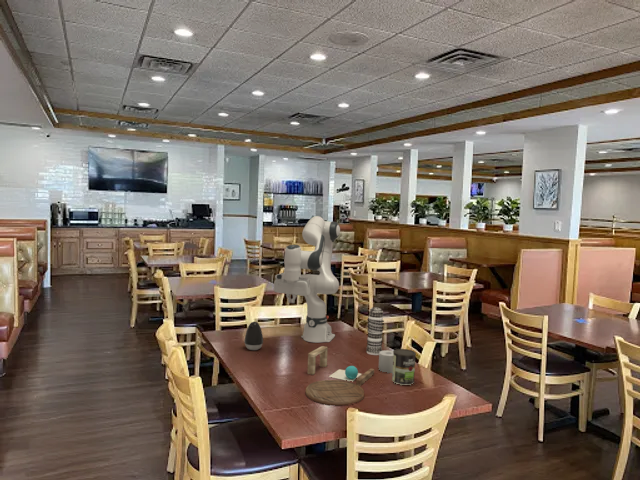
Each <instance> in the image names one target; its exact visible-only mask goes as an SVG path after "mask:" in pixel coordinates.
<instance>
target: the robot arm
mask: <svg viewBox="0 0 640 480" xmlns="http://www.w3.org/2000/svg"><path fill="white" fill-rule="evenodd" d="M302 229H303V230H302V233H301V235H302V238H303V241H304V242H305V243H306V244H307V245H310V246H314V250H312V251H311V250H301V249H302V248H301V246H300V245H298V244H288V245H287V246H286V247H285V251H284V258H283V259H284V261H283V263H284V267H283V272H281V273H278V274H275V276H274V278H275V280H274V281H273V291H274V293H279V294H286V295H285V296H286V298H287V302H288V303H290V304H295V300H296V299H297V296H302V297H304V298H305V301H306V310H307V311H306V313H307V315H306V316H305V321H306V322H305V323H304V325H303V333H302V334H301V338H302V339H303V341H305V342H309V343H329V342H330V343H331V341H332V340H333V339H334V338H335V337H336V334H335V333H332V326H331V325H330V324H329V323H328V319H329V315H327V314H326V312H327V311H326V310H327V304H326V302H325V301H324V300H322V299H321V298H320V297H319V296H318V294H321V295H333V294H334V295H335V294H336V293H337V292H338V290H339V288H340V282H339V280H338V279H337V277H336V276H335V275H334V274H333V271H332V269H331V268H332V267H331V264H332V258H333V257H332V256H333V242H335V241H336V240H337V239H338V238H339V236H340V233H341V227H340V224H339V223H338V222H336V221H330V220H329V221H327V220H325V219H324V218H322V217H321V216H320V215H315V216H312V217H311V218H310V219H309V220H308V221H307V223H306V224H305V225H304V227H303V228H302ZM302 270H309V271H310V270H311V271H317V272H319V274H311V273H310V274H309V273H307V274H301V273H302ZM291 295H292V298H291Z"/></svg>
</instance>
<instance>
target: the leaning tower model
mask: <svg viewBox="0 0 640 480" xmlns="http://www.w3.org/2000/svg"><path fill="white" fill-rule="evenodd" d="M368 312H369V313H368V318H367V319H366V321H367V323H366V324H367V325H366V327H367V330H366V331H367V339H366V344H367V345H366V353H367V354H368V355H372V356H379V352H380V351H383V332H384V327H383V326H384V325H385V324H384V322H385V321H384V315H383V314H384V310H383V309H382V308H381V307H377V306H374V307H373V306H372V307H371V308H370V309H368Z"/></svg>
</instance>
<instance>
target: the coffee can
mask: <svg viewBox="0 0 640 480" xmlns="http://www.w3.org/2000/svg"><path fill="white" fill-rule="evenodd" d="M392 351H393V353H394V354H393V373H392V374H391V375H392V377H391V381H393V382H394V383H393V382H392V383H393V384H395V383H396V384H395V385H397V384H400V385H399V386H402V385H410V386H412V385H411V384H413V383H414V384H415V371H416V369H415V368H416V355H417V352H415V351H414V350H411V349H405V348H397V349H394V350H392ZM414 384H413V385H414Z"/></svg>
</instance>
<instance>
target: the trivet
mask: <svg viewBox="0 0 640 480" xmlns="http://www.w3.org/2000/svg"><path fill="white" fill-rule="evenodd" d="M305 395H306V397H307V398H308V399H309V400H310V399H311V400H310V401H312V400H313V402H314V403H317V404H320V405H324V404H325V405H324V406H330V405H335V406H334V407H343V406H342V405H347V406H349V405H348V404H352V403H356V402H358V403H360V402H362V401H363V399H364V398H365V391H364V389H363V387H362V386H358V385H356V383H353V382H350V381H346V380H341V379H326V380H325V379H324V380H318V381H315V382H312V383H310V384H309V383H308V385H307V386H306V388H305ZM361 400H362V401H361ZM359 401H360V402H359ZM356 404H357V403H356ZM352 405H353V404H352Z"/></svg>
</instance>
